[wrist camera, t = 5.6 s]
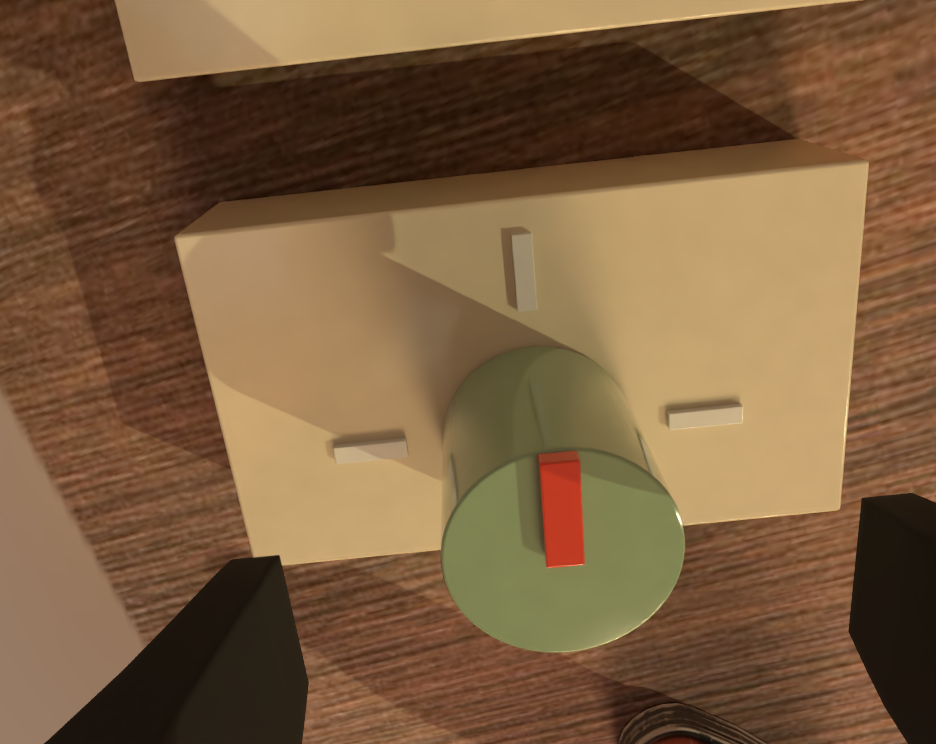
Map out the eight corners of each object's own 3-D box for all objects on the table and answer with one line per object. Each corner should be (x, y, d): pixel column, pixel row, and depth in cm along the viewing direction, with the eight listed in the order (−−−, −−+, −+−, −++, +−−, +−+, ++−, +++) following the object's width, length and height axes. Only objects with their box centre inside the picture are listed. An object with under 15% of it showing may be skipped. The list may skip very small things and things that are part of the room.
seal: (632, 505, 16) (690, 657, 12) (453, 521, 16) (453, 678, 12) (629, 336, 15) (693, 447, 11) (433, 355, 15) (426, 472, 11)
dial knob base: (293, 542, 20) (266, 629, 17) (217, 201, 17) (168, 237, 14) (783, 493, 20) (840, 573, 17) (801, 137, 17) (875, 160, 14)
